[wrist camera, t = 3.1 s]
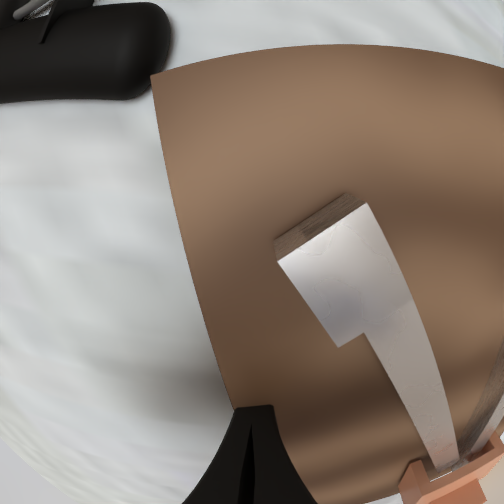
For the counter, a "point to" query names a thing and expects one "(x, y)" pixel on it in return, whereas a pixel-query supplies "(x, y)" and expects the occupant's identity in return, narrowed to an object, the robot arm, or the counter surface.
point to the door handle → (80, 50)
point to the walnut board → (316, 198)
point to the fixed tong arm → (483, 415)
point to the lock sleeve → (452, 479)
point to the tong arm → (370, 309)
